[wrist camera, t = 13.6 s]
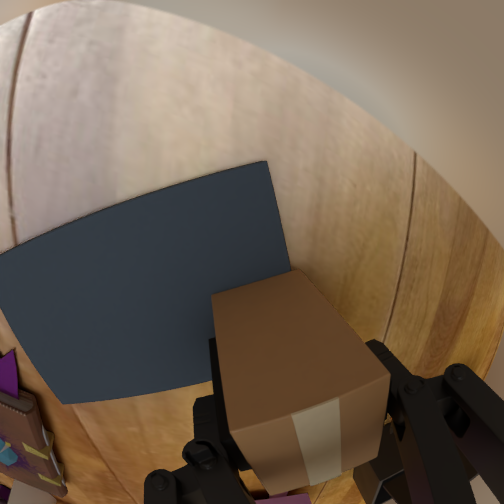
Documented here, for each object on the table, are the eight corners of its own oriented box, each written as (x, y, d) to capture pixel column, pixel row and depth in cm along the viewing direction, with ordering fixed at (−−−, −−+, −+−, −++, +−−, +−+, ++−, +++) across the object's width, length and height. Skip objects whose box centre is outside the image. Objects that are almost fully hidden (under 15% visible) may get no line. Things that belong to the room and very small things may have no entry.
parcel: (299, 267, 16) (393, 373, 7) (313, 350, 18) (378, 458, 9) (210, 293, 15) (228, 433, 7) (239, 373, 17) (270, 498, 9)
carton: (352, 477, 29) (369, 509, 23) (356, 439, 25) (379, 481, 19) (446, 426, 30) (466, 450, 24) (467, 374, 26) (496, 401, 20)
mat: (262, 160, 15) (267, 160, 14) (302, 343, 19) (307, 352, 18) (-11, 260, 13) (-19, 265, 12) (65, 396, 17) (62, 404, 16)
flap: (411, 521, 12) (411, 519, 12) (383, 487, 18) (382, 484, 18) (533, 419, 13) (534, 416, 13) (498, 406, 19) (499, 403, 19)
